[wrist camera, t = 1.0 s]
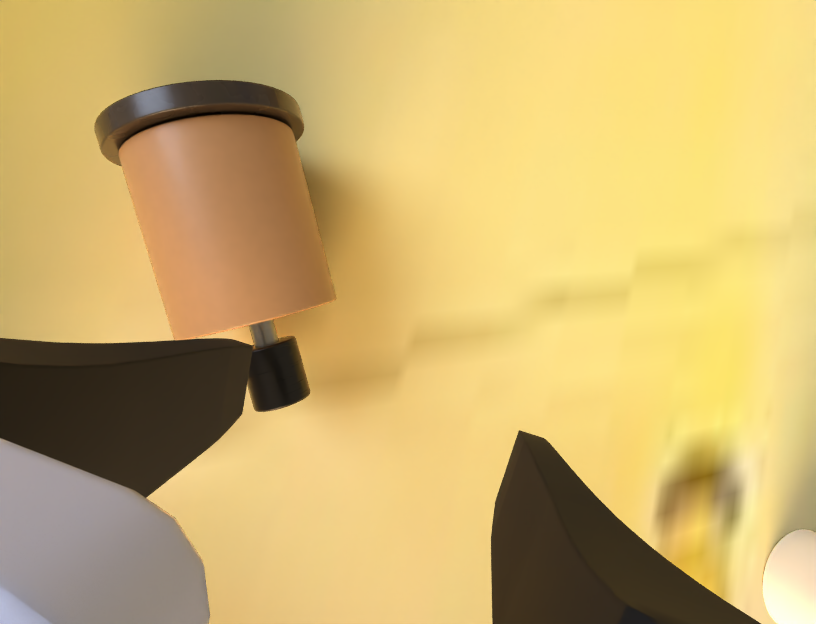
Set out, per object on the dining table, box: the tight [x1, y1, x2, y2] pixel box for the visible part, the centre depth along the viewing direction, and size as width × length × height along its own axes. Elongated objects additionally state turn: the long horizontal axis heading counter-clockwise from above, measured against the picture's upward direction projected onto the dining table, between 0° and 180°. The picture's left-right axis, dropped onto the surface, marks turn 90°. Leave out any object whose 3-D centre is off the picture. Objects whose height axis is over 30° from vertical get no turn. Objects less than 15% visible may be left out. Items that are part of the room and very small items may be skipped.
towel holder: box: [95, 80, 336, 412], centre depth 19 cm, size 8×8×12 cm
